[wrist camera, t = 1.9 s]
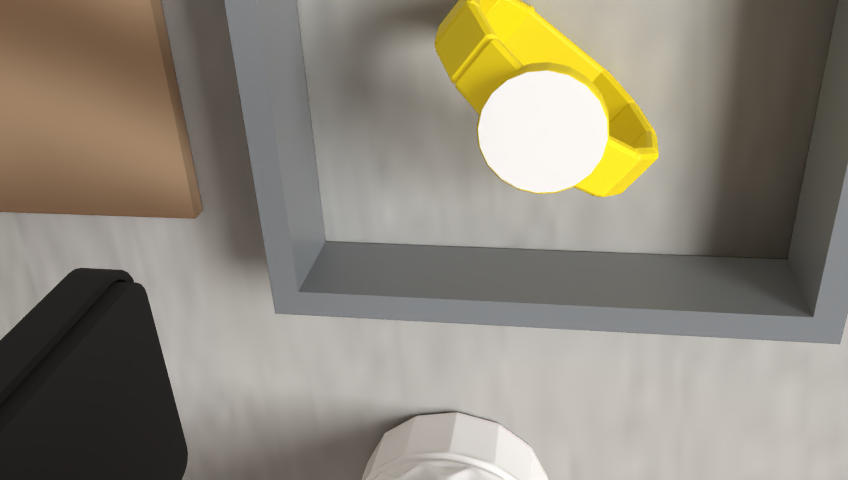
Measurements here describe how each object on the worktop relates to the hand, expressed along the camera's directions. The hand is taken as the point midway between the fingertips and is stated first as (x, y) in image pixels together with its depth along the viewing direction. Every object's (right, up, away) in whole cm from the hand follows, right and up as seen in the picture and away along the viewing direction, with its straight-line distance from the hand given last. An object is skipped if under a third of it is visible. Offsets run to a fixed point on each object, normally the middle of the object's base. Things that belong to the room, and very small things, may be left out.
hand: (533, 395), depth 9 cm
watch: (+2, +7, +13) cm, 15 cm away
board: (-13, +8, +15) cm, 21 cm away
